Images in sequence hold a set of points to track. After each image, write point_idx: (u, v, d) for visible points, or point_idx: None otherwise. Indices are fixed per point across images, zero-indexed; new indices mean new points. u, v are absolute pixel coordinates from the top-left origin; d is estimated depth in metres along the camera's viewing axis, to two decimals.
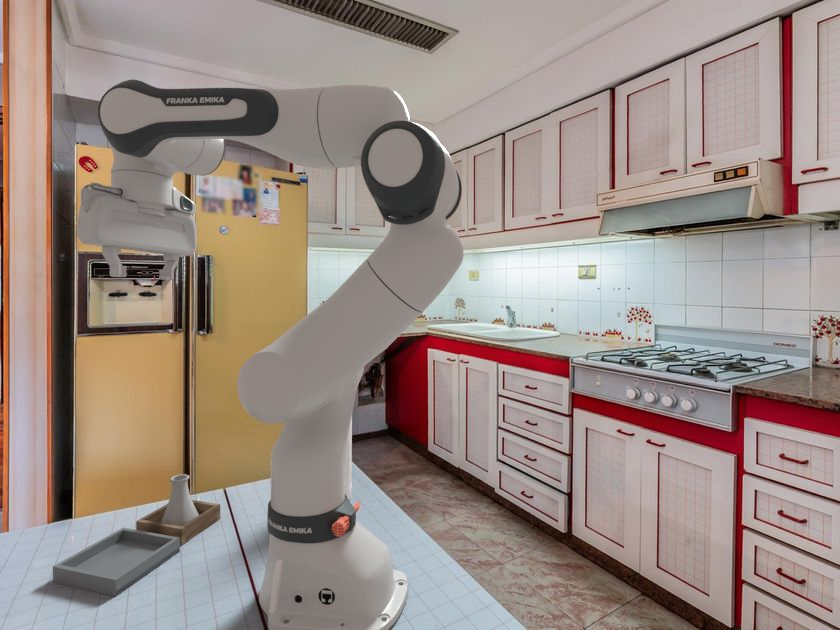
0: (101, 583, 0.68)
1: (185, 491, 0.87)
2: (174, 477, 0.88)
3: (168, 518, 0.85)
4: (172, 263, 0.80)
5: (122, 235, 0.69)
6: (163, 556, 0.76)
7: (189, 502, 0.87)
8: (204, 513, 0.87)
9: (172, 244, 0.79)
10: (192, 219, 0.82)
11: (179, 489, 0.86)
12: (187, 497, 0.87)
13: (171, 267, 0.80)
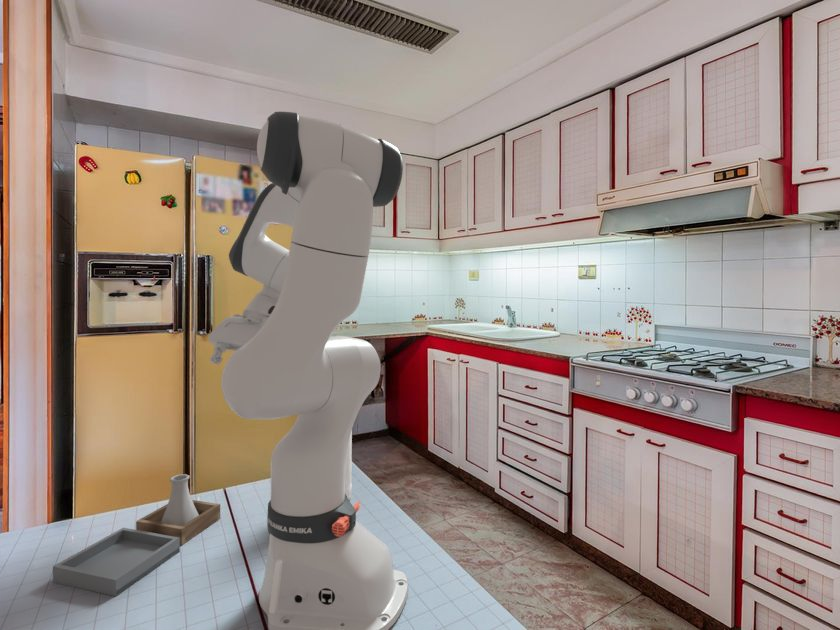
0: (101, 583, 0.68)
1: (185, 491, 0.87)
2: (174, 477, 0.88)
3: (168, 518, 0.85)
4: None
5: (223, 334, 1.01)
6: (163, 556, 0.76)
7: (189, 502, 0.87)
8: (204, 513, 0.87)
9: None
10: None
11: (179, 489, 0.86)
12: (187, 497, 0.87)
13: None
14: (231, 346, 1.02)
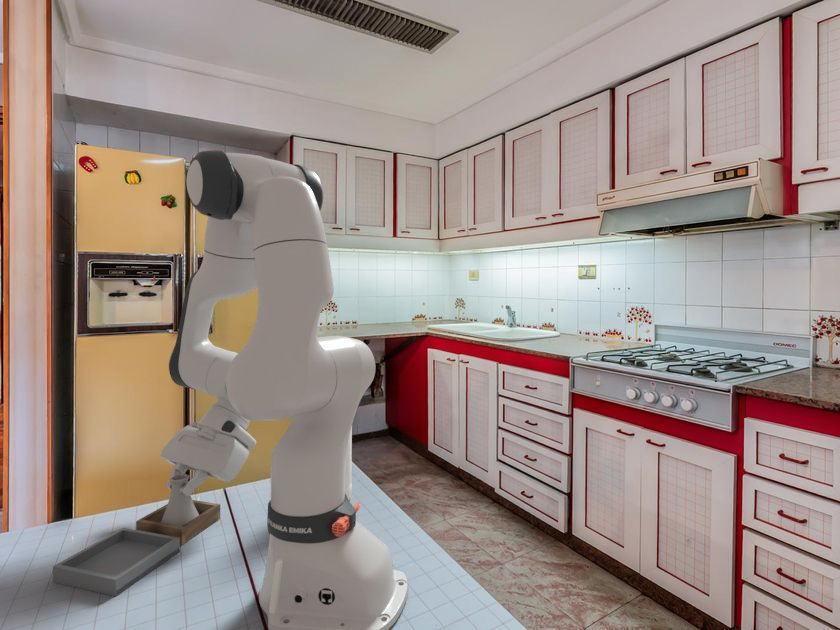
0: (101, 583, 0.68)
1: None
2: (174, 477, 0.88)
3: (168, 518, 0.85)
4: None
5: (175, 451, 0.92)
6: (163, 556, 0.76)
7: (189, 502, 0.87)
8: (204, 513, 0.87)
9: (204, 461, 0.87)
10: (231, 440, 0.88)
11: None
12: (187, 496, 0.87)
13: (189, 481, 0.86)
14: None
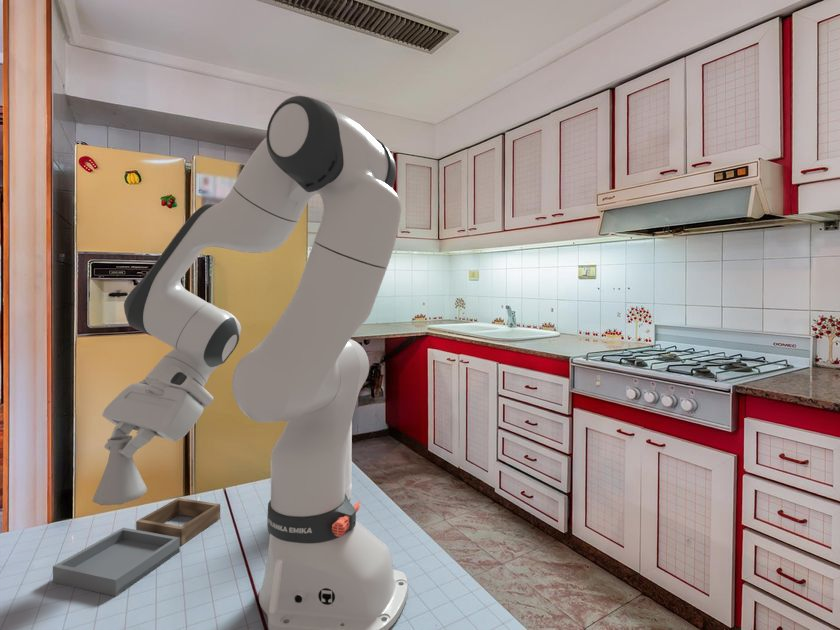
0: (101, 583, 0.68)
1: None
2: (114, 438, 0.75)
3: (104, 485, 0.72)
4: None
5: (119, 409, 0.79)
6: (163, 556, 0.76)
7: (131, 467, 0.74)
8: (204, 513, 0.87)
9: (149, 418, 0.74)
10: (181, 393, 0.75)
11: None
12: (129, 461, 0.74)
13: (130, 441, 0.73)
14: None
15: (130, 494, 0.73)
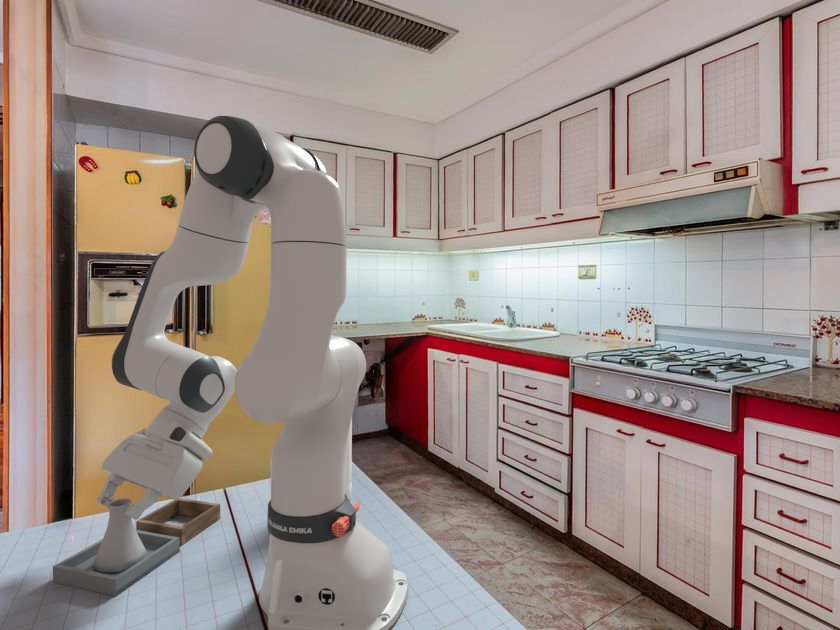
0: (101, 583, 0.68)
1: (126, 519, 0.74)
2: (113, 502, 0.75)
3: (104, 551, 0.72)
4: None
5: (118, 462, 0.79)
6: (163, 556, 0.76)
7: (130, 532, 0.75)
8: (204, 513, 0.87)
9: (148, 475, 0.74)
10: (180, 450, 0.75)
11: (118, 517, 0.73)
12: (129, 525, 0.75)
13: (137, 502, 0.72)
14: None
15: (129, 559, 0.73)
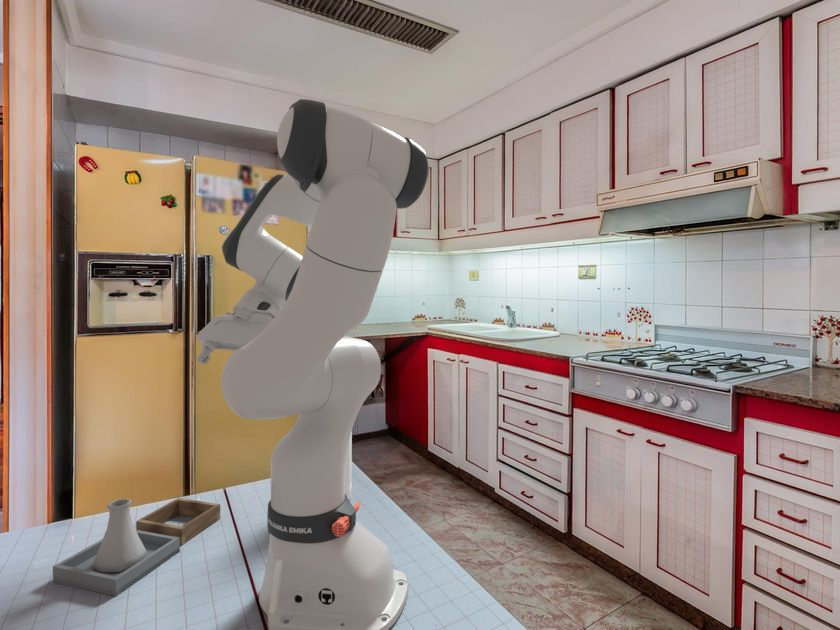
0: (101, 583, 0.68)
1: (126, 519, 0.74)
2: (113, 502, 0.75)
3: (104, 551, 0.72)
4: None
5: (211, 332, 0.96)
6: (163, 556, 0.76)
7: (130, 532, 0.75)
8: (204, 513, 0.87)
9: (242, 336, 0.91)
10: (267, 316, 0.91)
11: (118, 517, 0.73)
12: (129, 525, 0.75)
13: None
14: (220, 345, 0.96)
15: (129, 559, 0.73)
